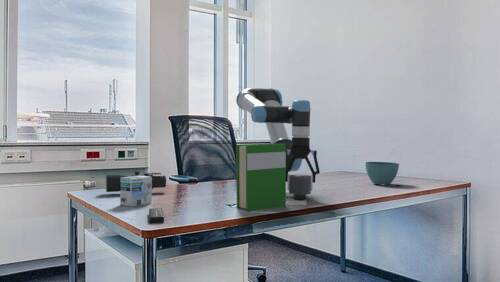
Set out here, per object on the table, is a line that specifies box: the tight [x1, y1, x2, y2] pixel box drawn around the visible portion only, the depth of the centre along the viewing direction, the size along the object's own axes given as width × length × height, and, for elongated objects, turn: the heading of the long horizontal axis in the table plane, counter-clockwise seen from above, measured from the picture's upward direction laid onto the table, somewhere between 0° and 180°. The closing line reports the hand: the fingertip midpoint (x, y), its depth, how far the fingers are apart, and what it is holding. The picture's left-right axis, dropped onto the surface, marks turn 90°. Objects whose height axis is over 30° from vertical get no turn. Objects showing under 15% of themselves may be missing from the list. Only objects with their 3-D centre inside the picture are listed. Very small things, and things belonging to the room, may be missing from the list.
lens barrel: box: [293, 194, 307, 201], centre depth 172 cm, size 5×5×8 cm
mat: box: [286, 197, 307, 206], centre depth 168 cm, size 12×16×1 cm
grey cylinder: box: [288, 174, 312, 196], centre depth 172 cm, size 9×9×8 cm
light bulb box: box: [119, 174, 153, 208], centre depth 158 cm, size 11×7×11 cm, turn 148°
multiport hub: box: [148, 207, 165, 224], centre depth 134 cm, size 4×14×2 cm, turn 14°
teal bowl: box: [364, 161, 400, 186], centre depth 230 cm, size 18×18×12 cm
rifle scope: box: [105, 171, 167, 193], centre depth 186 cm, size 10×26×10 cm, turn 110°
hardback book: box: [235, 142, 287, 213], centre depth 153 cm, size 18×7×24 cm, turn 124°
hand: (299, 190), depth 172 cm, fingers closed on grey cylinder, 9 cm apart
